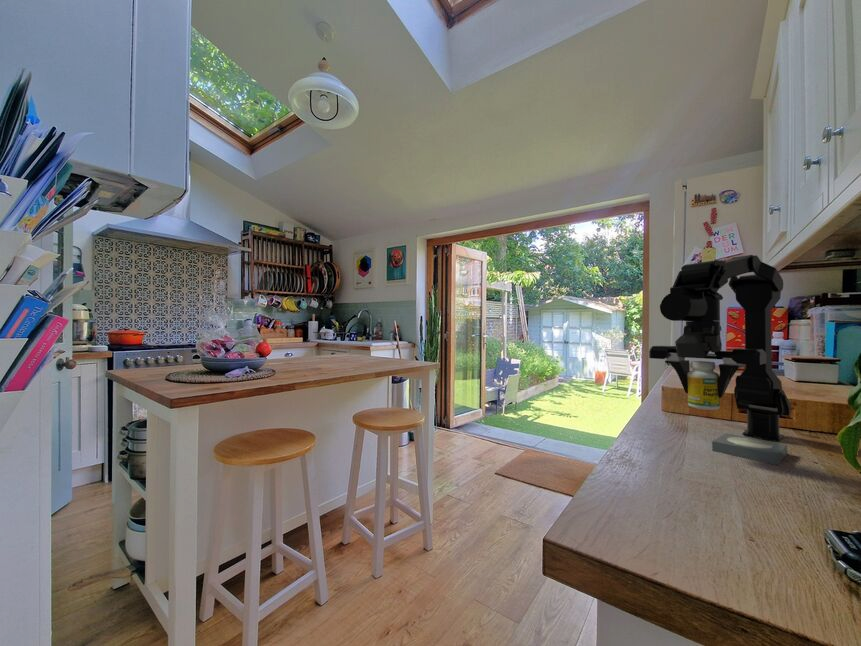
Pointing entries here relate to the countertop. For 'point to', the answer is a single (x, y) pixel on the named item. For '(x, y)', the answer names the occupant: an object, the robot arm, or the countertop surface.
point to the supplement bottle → (703, 386)
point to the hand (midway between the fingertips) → (703, 395)
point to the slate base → (750, 448)
